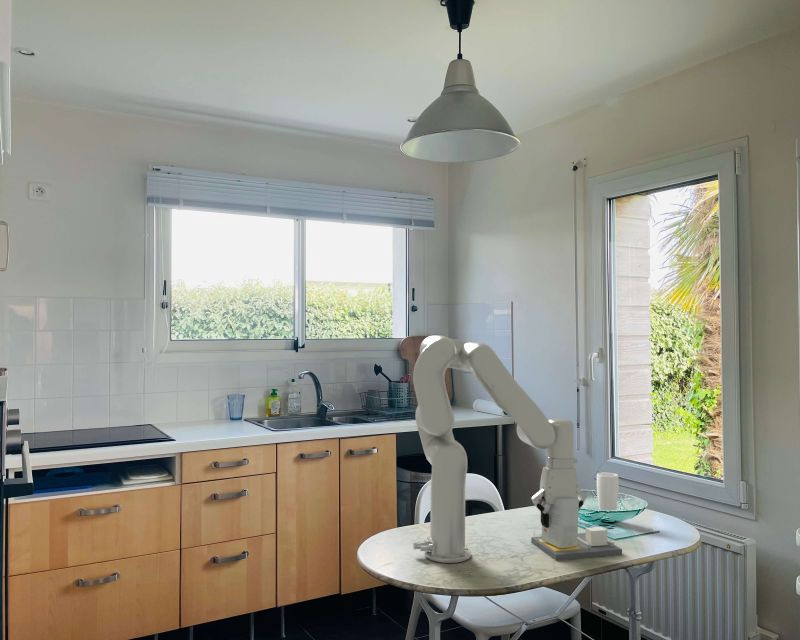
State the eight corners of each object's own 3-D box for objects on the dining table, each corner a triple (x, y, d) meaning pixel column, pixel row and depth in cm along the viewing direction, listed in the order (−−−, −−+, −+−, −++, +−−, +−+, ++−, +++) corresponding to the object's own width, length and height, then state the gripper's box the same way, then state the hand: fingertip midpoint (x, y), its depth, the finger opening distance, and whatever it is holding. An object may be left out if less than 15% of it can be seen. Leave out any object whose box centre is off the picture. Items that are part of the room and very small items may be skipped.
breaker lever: (591, 546, 184) (591, 531, 184) (585, 542, 187) (585, 527, 187) (607, 545, 185) (607, 529, 185) (601, 541, 188) (601, 526, 188)
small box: (577, 546, 184) (579, 499, 184) (560, 549, 181) (562, 501, 181) (557, 537, 191) (559, 492, 191) (540, 540, 188) (542, 494, 188)
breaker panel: (555, 560, 177) (555, 551, 177) (531, 542, 192) (531, 533, 192) (622, 554, 182) (622, 545, 182) (593, 537, 197) (593, 528, 197)
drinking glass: (610, 517, 217) (610, 471, 217) (622, 523, 211) (623, 476, 211) (592, 518, 215) (592, 472, 215) (604, 525, 209) (604, 477, 209)
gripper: (580, 459, 192) (580, 519, 192) (525, 461, 187) (524, 523, 187) (594, 464, 184) (594, 527, 184) (537, 467, 180) (536, 531, 180)
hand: (559, 525), depth 186 cm, fingers open, 8 cm apart
